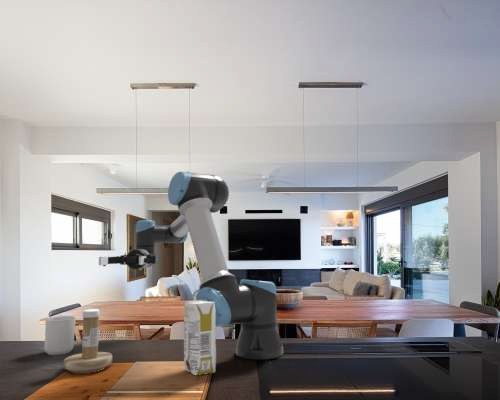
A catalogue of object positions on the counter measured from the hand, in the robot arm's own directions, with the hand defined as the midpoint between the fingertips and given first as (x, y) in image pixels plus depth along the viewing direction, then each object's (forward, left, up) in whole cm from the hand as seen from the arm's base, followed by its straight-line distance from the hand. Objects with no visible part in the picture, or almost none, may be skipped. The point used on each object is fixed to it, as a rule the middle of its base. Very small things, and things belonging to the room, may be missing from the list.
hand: (119, 261), depth 137 cm
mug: (+16, +14, -30) cm, 37 cm away
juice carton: (-34, -12, -30) cm, 47 cm away
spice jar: (-11, +12, -27) cm, 32 cm away
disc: (-11, +12, -30) cm, 34 cm away
